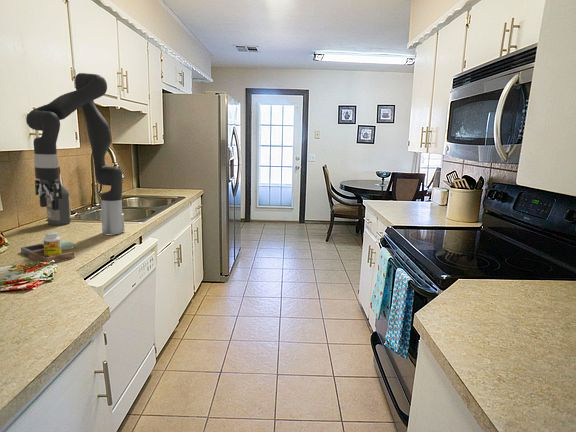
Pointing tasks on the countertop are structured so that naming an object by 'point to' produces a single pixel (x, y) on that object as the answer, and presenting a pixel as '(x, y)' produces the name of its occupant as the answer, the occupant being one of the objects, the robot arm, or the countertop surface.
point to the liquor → (64, 211)
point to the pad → (66, 245)
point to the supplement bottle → (52, 244)
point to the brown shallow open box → (39, 257)
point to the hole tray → (32, 248)
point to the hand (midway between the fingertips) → (49, 208)
